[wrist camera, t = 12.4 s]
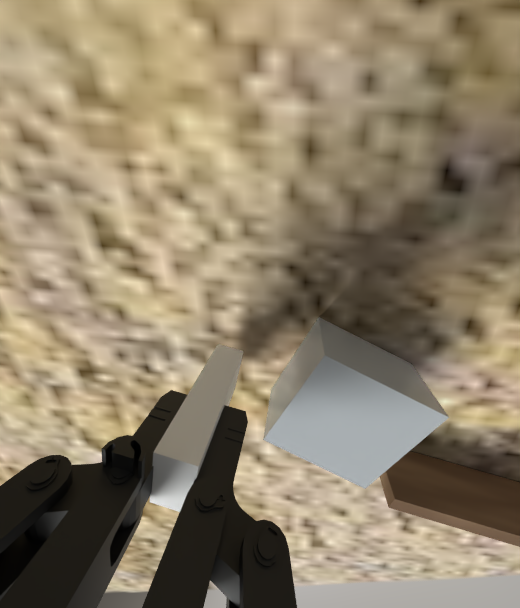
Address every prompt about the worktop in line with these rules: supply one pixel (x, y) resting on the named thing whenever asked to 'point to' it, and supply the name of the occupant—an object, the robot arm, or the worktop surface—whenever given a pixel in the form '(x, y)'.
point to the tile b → (349, 405)
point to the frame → (454, 496)
